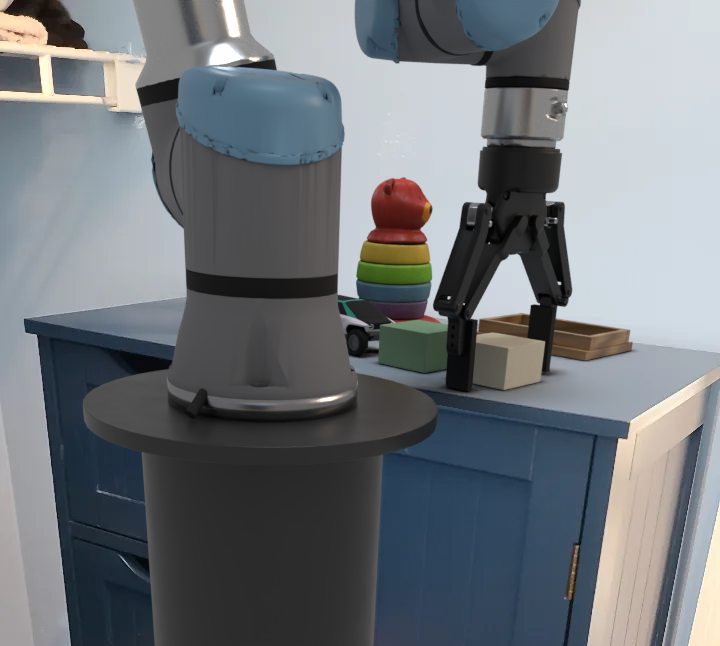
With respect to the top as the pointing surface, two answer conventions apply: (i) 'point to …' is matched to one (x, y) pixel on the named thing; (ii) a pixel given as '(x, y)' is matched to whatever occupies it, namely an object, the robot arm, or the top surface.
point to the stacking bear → (397, 253)
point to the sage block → (414, 345)
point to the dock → (565, 336)
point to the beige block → (507, 361)
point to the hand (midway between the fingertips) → (499, 379)
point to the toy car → (360, 323)
